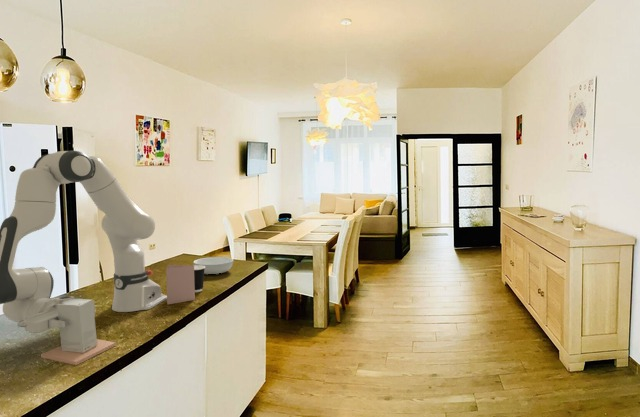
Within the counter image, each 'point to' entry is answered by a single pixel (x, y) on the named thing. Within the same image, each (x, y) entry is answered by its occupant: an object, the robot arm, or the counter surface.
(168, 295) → the greeting card
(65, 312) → the skincare box
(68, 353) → the terracotta mat
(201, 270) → the dixie cup
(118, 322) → the counter surface
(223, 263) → the serving bowl
